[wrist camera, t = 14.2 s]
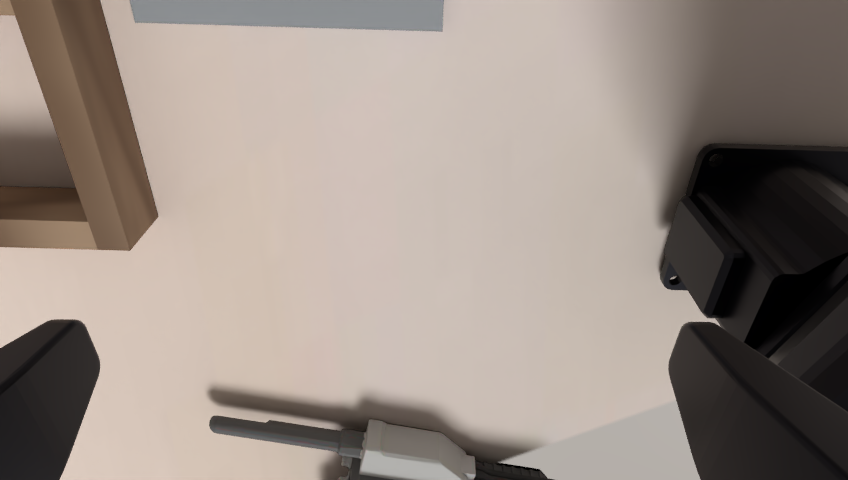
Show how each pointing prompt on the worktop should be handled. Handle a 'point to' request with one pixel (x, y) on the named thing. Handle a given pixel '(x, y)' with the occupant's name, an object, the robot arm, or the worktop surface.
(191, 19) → the mat
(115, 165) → the square wooden frame
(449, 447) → the walkie-talkie
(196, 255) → the worktop surface
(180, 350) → the worktop surface
